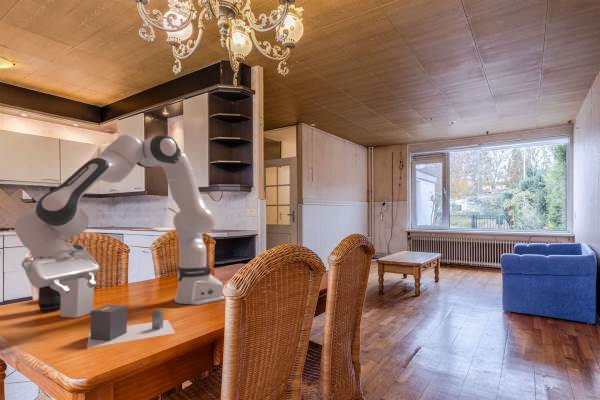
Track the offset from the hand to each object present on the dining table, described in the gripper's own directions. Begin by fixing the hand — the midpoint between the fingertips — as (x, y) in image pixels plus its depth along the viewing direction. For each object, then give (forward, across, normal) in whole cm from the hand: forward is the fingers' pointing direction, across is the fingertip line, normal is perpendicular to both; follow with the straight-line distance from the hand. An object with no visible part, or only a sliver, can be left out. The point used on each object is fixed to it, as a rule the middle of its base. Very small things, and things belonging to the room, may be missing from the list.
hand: (80, 289), depth 98 cm
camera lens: (-15, +22, +35) cm, 44 cm away
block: (+16, 0, +2) cm, 16 cm away
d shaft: (+23, +9, -5) cm, 25 cm away
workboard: (+20, +4, 0) cm, 21 cm away
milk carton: (-4, +19, +25) cm, 32 cm away
